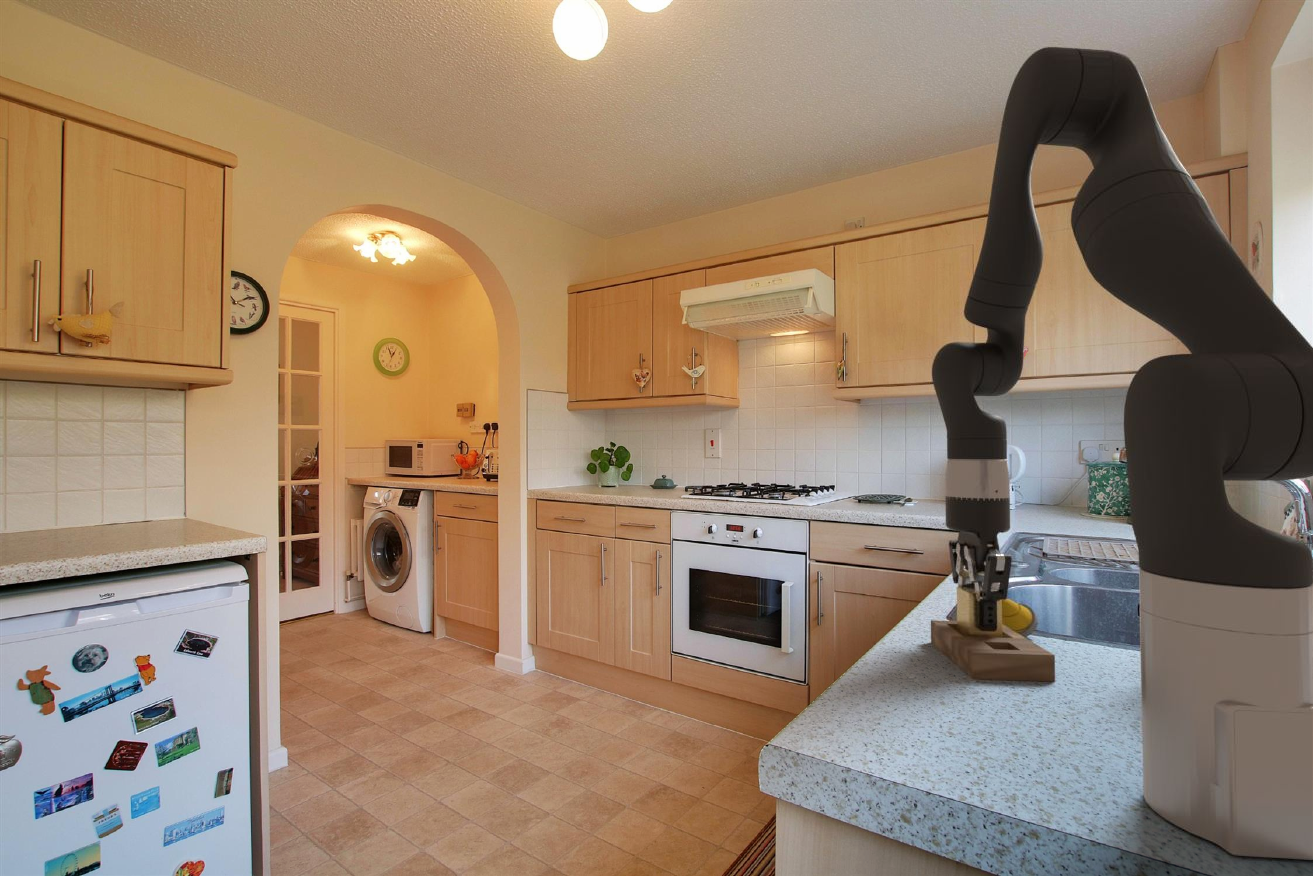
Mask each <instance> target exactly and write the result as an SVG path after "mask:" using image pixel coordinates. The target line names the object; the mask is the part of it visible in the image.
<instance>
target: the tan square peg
mask: <svg viewBox="0 0 1313 876" xmlns="http://www.w3.org/2000/svg"><path fill="white" fill-rule="evenodd" d="M976 600H977V598H976V591H975V587H958V586H956V621H957V632H958V633H960V634H961V635H962V636H964V637H996V638H1002V600H1000V601H999V602H997V630H996V631H994V632H990V631H981V630H979V629H978V628H977V610H976Z"/></svg>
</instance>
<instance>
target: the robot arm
mask: <svg viewBox="0 0 1313 876" xmlns="http://www.w3.org/2000/svg"><path fill="white" fill-rule="evenodd" d="M1014 77H1015V78H1014V79H1013V83H1012V84H1011V86H1010V87H1011V88H1010V90H1009V93H1008V96H1007V100H1006V103H1005V108H1004V112H1003V115H1002V116H1003V118H1002V122H1001V128H1000V133H999V138H998V139H999V140H998V146H997V151H996V152H997V153H996V158H995V164H994V170H993V178H992V184H991V189H990V197H989V204H988V205H989V206H988V213H987V220H986V226H985V232H984V235H983V241H982V245H981V249H980V254H979V257H978V261H977V263H976V266H975V269H974V272H973V278H972V280H971V283H970V286H969V290H968V293H967V297H966V301H965V304H964V308H963V309H964V310H963V316H964V317H965V320H967V321H968V322H969V323H970V324H972V325H975V326H978V327H980V328H984V329H986V331H987V339H986V341H985V342H970V341H969V342H968V341H953V342H949V343H947V344H944V345H943V346H942V347H941V348H939V350H938V351H937V352H936V355H935V357H934V358H933V362H932V367H931V379H932V384H933V388H934V391H935V395H936V397H937V401H938V404H939V407H940V410H941V415H942V417H943V421H944V424H945V428H946V459H947V460H946V469H945V475H944V476H945V479H944V480H945V481H944V483H945V484H944V485H945V487H944V489H945V491H944V492H945V495H944V497H945V498H944V499H945V501H944V502H945V504H944V505H945V527H946V528H947V529H949V530H952V531H956V532H958V535H957V540H956V539H955V540H948V550H949V557H950V558H949V559H950V567H951V574H952V581H953V583H954V584H956V585H957V587H975V591H976V598H977V600H976V610H977V628H978V629H979V630H981V631H990V632H994V631H996V630H997V602H999V601H1000V600H1006V598H1008V591H1009V584H1010V583H1009V582H1010V577H1011V569H1012V556H1011V554H1009V553H1008V554H1007V553H1001V551H1000V550H1001V549H1000V544H999V539H998V538H999V537H998V535H999V534H1000V533H1006V532H1009V531H1010V529H1011V500H1010V499H1011V495H1010V490H1011V485H1010V483H1011V481H1010V472H1009V466H1008V441H1007V438H1008V436H1007V435H1008V433H1007V423H1006V421H1005V419H1004V418H1003V417H1001V416H999V415H997V414H993V413H990V412H987V411H984V410H982V409H981V408H980V406H979V404H978V402H977V400H976V397H999V396H1002V395H1005V394H1007V393H1008V392H1010V391H1011V390H1012V389H1013V388H1014V387H1015V386H1016V385H1017V383H1018V381H1019V380H1020V377H1021V375H1022V371H1023V369H1024V368H1023V367H1024V348H1025V347H1024V344H1025V333H1026V332H1025V328H1026V315H1027V312H1028V310H1029V306H1030V304H1031V302H1032V298H1033V295H1034V292H1035V289H1036V287H1037V284H1038V281H1039V278H1040V274H1041V271H1042V268H1043V262H1044V245H1043V237H1042V234H1041V233H1042V232H1041V230H1040V226H1039V222H1038V218H1037V216H1036V211H1035V205H1034V202H1033V201H1034V200H1033V194H1032V186H1031V182H1032V169H1033V164H1034V159H1035V156H1036V152H1037V149H1038V147H1039V145H1043V146H1053V147H1054V146H1057V147H1060V146H1061V147H1069V148H1071V147H1072V148H1075V149H1078V150H1080V151H1082V152H1083V153H1085V154H1086V156H1087V157H1088V159H1089V160H1090V162H1091V164H1092V167H1093V169H1092V170H1091V172H1090V173H1089V175H1088V176H1087V178H1085V181H1083V184H1082V186H1081V187H1080V189H1079V191H1078V193H1077V194H1076V196H1075V199H1074V201H1073V206H1072V209H1071V211H1070V212H1071V213H1070V214H1071V215H1070V225H1071V229H1072V233H1073V236H1074V239H1075V242H1076V244H1077V246H1078V249H1079V251H1080V252H1079V253H1080V254H1081V256H1082V259H1083V261H1084V264H1085V265H1086V268H1087V270H1088V272H1089V273H1090V275H1091V276H1092V278H1093V279H1094V280H1095V281H1096V283H1098V284H1099V286H1101V287H1102V288H1103V289H1104V290H1106V291H1107V292H1108V293H1110V294H1111V295H1112V296H1113V297H1114V298H1116V299H1117V300H1119V301H1120V302H1122V303H1123V304H1125V305H1127V306H1128V307H1129V308H1131V309H1133V310H1135V311H1136V312H1138V313H1139V314H1141V315H1142V316H1144V317H1146V318H1148V319H1149V320H1150V321H1152V322H1154V323H1156V324H1157V325H1159V326H1160V327H1161V328H1163V329H1164V330H1166V331H1168V332H1169V333H1170V334H1171V335H1173V336H1174V337H1175V338H1176V339H1177V340H1179V341H1180V342H1181V343H1182V344H1183V345H1184V347H1186V348H1187V349H1188V351H1189V353H1179V354H1178V353H1177V354H1176V353H1175V354H1166V355H1162V356H1158V357H1155V358H1152V359H1150V360H1148V361H1147V362H1145V363H1144V364H1143V365H1142V366H1141V367H1140V368H1139V369H1138V370H1137V371H1136V373H1135V374H1134V376H1133V378H1131V379H1132V380H1131V381H1130V383H1129V386H1128V389H1127V392H1126V397H1125V401H1124V407H1123V408H1124V409H1123V435H1124V447H1125V459H1126V471H1127V482H1128V496H1129V510H1130V512H1129V513H1130V522H1131V527H1132V531H1133V535H1134V538H1135V541H1136V545H1137V550H1138V551H1137V552H1138V567H1139V568H1138V574H1139V575H1138V577H1139V579H1138V581H1139V584H1138V585H1139V588H1138V589H1139V645H1140V646H1139V647H1140V648H1139V649H1140V652H1139V653H1140V655H1139V656H1140V695H1141V696H1140V700H1141V701H1140V702H1141V706H1140V708H1141V709H1140V710H1141V744H1142V745H1141V746H1142V748H1141V749H1142V788H1143V789H1142V791H1143V795H1142V796H1143V798H1144V800H1145V802H1146V804H1147V805H1148V806H1149V807H1150V808H1151V810H1153V811H1154V812H1155V813H1157V814H1158V815H1159V816H1160V817H1161V818H1163V819H1164V820H1167V821H1168V822H1170V823H1171V824H1173V825H1174V826H1177V827H1179V828H1180V829H1182V830H1184V831H1187V832H1188V833H1189V834H1193V835H1195V836H1197V837H1200V838H1202V839H1204V840H1207V841H1210V842H1212V843H1214V844H1216V845H1217V846H1219V847H1220V848H1222V849H1224V850H1225V852H1228V853H1229V854H1231V855H1233V856H1240V857H1241V856H1242V857H1259V858H1260V857H1261V858H1273V859H1275V858H1276V859H1289V860H1290V859H1292V860H1309V861H1313V556H1312V552H1311V549H1310V548H1309V546H1308V544H1306V543H1305V542H1303V541H1302V540H1301V539H1298V538H1296V537H1294V536H1291V535H1287V534H1285V533H1281V532H1277V531H1274V530H1273V529H1269V528H1266V527H1263V526H1260V525H1258V524H1256V523H1254V522H1252V521H1251V520H1248V519H1246V517H1244V516H1242V515H1241V514H1240V513H1238V512H1237V511H1235V510H1234V509H1233V507H1231V504H1230V503H1229V500H1228V496H1227V492H1226V487H1225V486H1226V485H1225V482H1226V481H1227V482H1229V481H1231V482H1232V481H1233V482H1234V481H1237V482H1238V481H1242V482H1243V481H1244V482H1246V481H1247V482H1248V481H1249V482H1250V481H1254V482H1255V481H1257V482H1259V481H1261V482H1262V481H1265V482H1266V481H1290V480H1291V481H1293V480H1299V479H1307V478H1311V477H1313V346H1312V345H1311V344H1310V342H1308V340H1307V339H1306V338H1305V337H1304V335H1303V334H1302V333H1301V332H1300V331H1299V330H1298V329H1297V328H1296V326H1295V325H1294V324H1293V323H1292V322H1291V320H1290V319H1288V317H1287V316H1286V315H1285V314H1284V313H1283V312H1282V311H1281V309H1280V308H1279V307H1278V306H1277V305H1276V303H1275V302H1274V301H1273V300H1272V298H1270V296H1268V294H1267V293H1266V292H1265V290H1264V289H1263V287H1262V286H1261V285H1260V284H1259V282H1258V281H1257V279H1255V276H1254V275H1253V274H1252V273H1251V271H1250V270H1249V268H1248V267H1247V265H1246V264H1245V262H1244V260H1243V259H1242V258H1241V257H1240V255H1239V254H1238V252H1237V251H1236V249H1235V248H1234V246H1233V245H1232V243H1231V241H1229V240H1230V239H1228V238H1227V236H1226V234H1225V233H1224V231H1223V230H1222V228H1221V226H1220V224H1219V222H1218V220H1217V219H1216V216H1215V215H1214V213H1213V211H1212V209H1211V207H1210V205H1209V203H1208V202H1207V200H1206V199H1205V197H1204V196H1203V194H1202V192H1201V190H1200V188H1199V186H1198V185H1197V184H1196V182H1195V181H1194V179H1193V178H1192V176H1191V175H1190V173H1189V172H1188V171H1187V169H1186V168H1185V167H1184V165H1183V164H1182V162H1181V161H1180V158H1178V156H1177V154H1176V152H1175V151H1174V149H1173V146H1172V145H1171V143H1170V141H1169V139H1168V138H1167V135H1166V134H1165V132H1164V131H1163V128H1162V127H1161V125H1160V123H1159V120H1158V118H1157V117H1156V114H1155V111H1154V109H1153V106H1152V102H1151V100H1150V96H1149V94H1148V91H1147V88H1146V85H1145V82H1144V81H1143V78H1142V75H1141V73H1140V71H1139V68H1138V67H1137V65H1136V64H1135V62H1134V61H1133V60H1132V59H1131V58H1130V57H1128V56H1127V55H1126V54H1123V53H1121V52H1117V51H1115V50H1108V49H1107V50H1106V49H1105V50H1103V49H1092V48H1091V49H1090V48H1078V47H1074V48H1073V47H1058V46H1048V47H1047V46H1046V47H1042V48H1039V49H1038V50H1036V51H1035V52H1033V53H1032V54H1030V56H1028V57H1027V58H1026V60H1025V61H1024V62H1023V64H1022V65H1021V67H1020V68H1019V70H1018V72H1017V73H1016V76H1014ZM1224 481H1225V482H1224Z"/></svg>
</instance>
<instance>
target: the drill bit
mask: <svg viewBox="0 0 1313 876" xmlns="http://www.w3.org/2000/svg"><path fill="white" fill-rule="evenodd" d="M1037 616H1038V615H1037V614H1036V613H1035V611H1034V610H1033V609H1032V608H1031V607H1030V606H1028V605H1027V604H1024V603H1017V602H1015V601H1013V600H1012V599H1010V598H1008V597H1007V598H1006V600H1002V624H1003V625H1004V626H1006V627H1008V628H1009V629H1011V630H1013V631H1015V632H1016V633H1018V634H1020V635H1021V636H1023V637H1025V638H1028V637H1029V636H1031V635H1032V634H1033V633H1034V632H1035V631H1036V630H1037V627H1038V625H1039V619H1038V617H1037Z"/></svg>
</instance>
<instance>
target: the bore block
mask: <svg viewBox="0 0 1313 876" xmlns="http://www.w3.org/2000/svg"><path fill="white" fill-rule="evenodd" d="M930 643H931V644H932V643H933V644H932V645H933V646H935V648H937V649H938V650H939V651H941V653H943V654H944V655H945V656H946V657H947V658H949V659H950V660H951V661H952V662H953V663H954V664H955V665H957V667H959V668H960V669H961V670H962V671H964V673H966V674H967V675H968V676H969V677H970V678H971V679H974V680H975V679H976V680H997V681H998V680H1000V681H1001V680H1002V681H1023V682H1025V681H1028V682H1053V683H1054V682H1056V660H1055V659H1056V658H1055V657H1056V655H1055V654H1053V653H1052V652H1050V651H1048V650H1047V649H1045V648H1043V647H1041V646H1040V645H1038V644H1037V643H1034V641H1031V640H1029V639H1028V638H1027V637H1023V636H1021V635H1020V634H1018V633H1016V632H1015V631H1013V630H1011V629H1009V628H1008V627H1006V626H1004V625H1003V624H1002V638H996V637H964V636H962V635H961V634H960V633H958V632H957V620H935V619H934V620H933V619H931V620H930Z"/></svg>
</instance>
